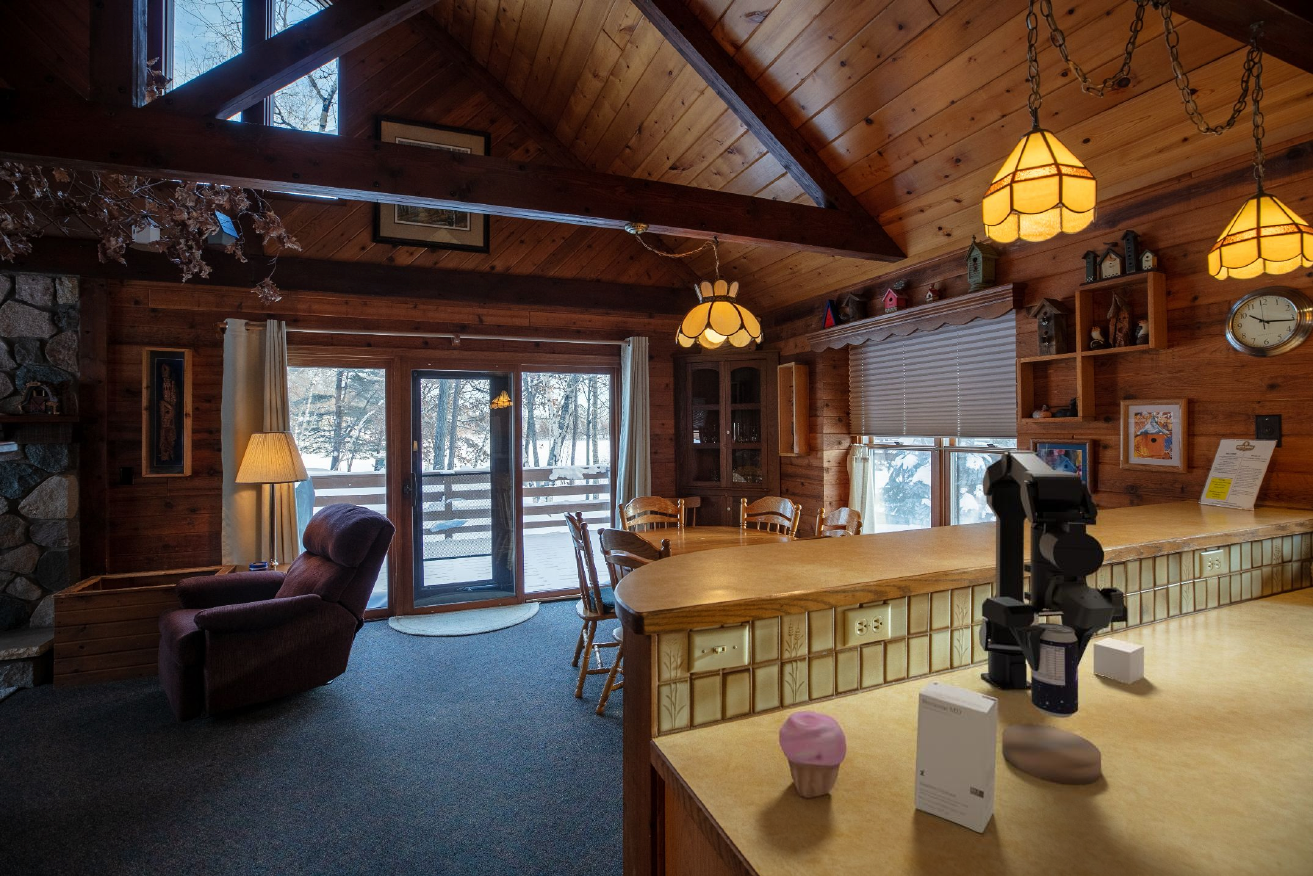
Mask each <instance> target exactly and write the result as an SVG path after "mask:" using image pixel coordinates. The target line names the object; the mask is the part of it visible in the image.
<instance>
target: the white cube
mask: <svg viewBox="0 0 1313 876" xmlns="http://www.w3.org/2000/svg"><path fill="white" fill-rule="evenodd" d="M1094 673H1097V674H1100V675H1104V676H1105V677H1104V678H1106V677H1110V678H1113V679H1115V680H1114V681H1116V680H1119V681H1118V682H1120V681H1123V682H1125V683H1124V684H1127V683H1129V684H1128V685H1132V684H1134V683H1135V682H1134V681H1136V680H1138V679H1139V680H1141V679H1143V678H1145V675H1144V674H1145V645H1140V644H1136V643H1131V642H1128V641H1123V640H1121V639H1120V640H1119V639H1115V638H1111V637H1106V638H1104V639H1101V640H1099V641H1096V642H1094V643H1093V674H1094ZM1142 677H1143V678H1142ZM1140 678H1141V679H1140ZM1113 679H1112V680H1113ZM1139 680H1138V681H1139ZM1123 682H1122V683H1123ZM1133 682H1134V683H1133ZM1136 682H1137V681H1136ZM1131 683H1132V684H1131Z"/></svg>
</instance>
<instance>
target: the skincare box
mask: <svg viewBox="0 0 1313 876" xmlns="http://www.w3.org/2000/svg"><path fill="white" fill-rule="evenodd" d="M917 706H918V707H917V708H918V709H917V711H918V712H917V727H916V728H917V729H916V731H917V732H916V756H915V775H914V776H915V777H914V778H915V781H914V800H913V801H914V806H915V807H914V808H915V809H917V810H920V811H922V812H925V813H928V814H932V815H934V816H937V817H940V818H942V819H945V820H948V821H949V822H952V823H956V824H958V825H960V826H963V827H965V828H967V829H969V830H972V831H974V832H977V833H978V834H979V833H980V834H982V833H984V831H985V829H986V827H987V825H988V823H989V821H990V820H991V818H992V815H993V814H994V805H995V804H994V803H995V802H994V801H995V781H996V759H997V757H996V756H997V740H998V739H997V733H998V731H997V730H998V714H999V713H998V710H999V699H998V698H996V697H993V696H989V695H987V694H983V693H979V692H975V691H973V690H971V689H967V688H963V687H960V686H956V685H955V686H954V685H951V684H946V683H943V682H938V681H935V680H931V681H929V683H927V684H926V685H925V687H924V688H923V689H922V690H920V691H919V693H918V705H917Z"/></svg>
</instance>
